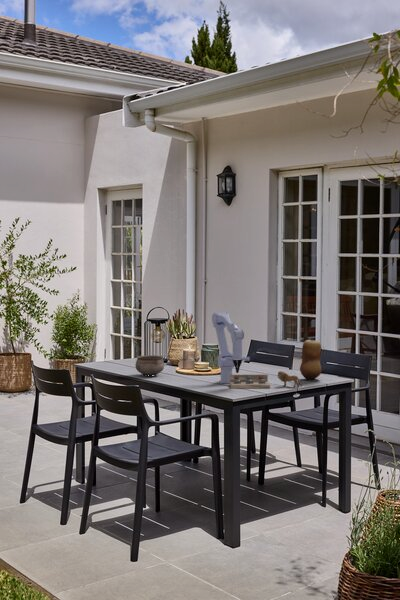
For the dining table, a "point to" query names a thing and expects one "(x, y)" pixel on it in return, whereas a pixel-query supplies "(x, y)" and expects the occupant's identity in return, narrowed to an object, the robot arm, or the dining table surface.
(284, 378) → the lion figurine
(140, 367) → the brown footed bowl
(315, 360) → the butternut squash
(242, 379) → the button board
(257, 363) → the dining table surface
